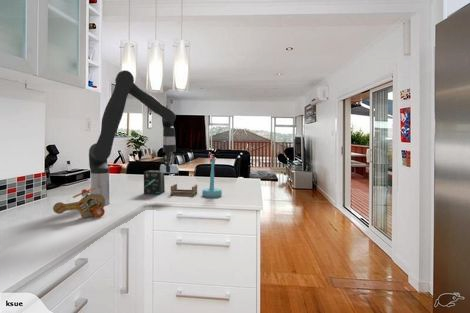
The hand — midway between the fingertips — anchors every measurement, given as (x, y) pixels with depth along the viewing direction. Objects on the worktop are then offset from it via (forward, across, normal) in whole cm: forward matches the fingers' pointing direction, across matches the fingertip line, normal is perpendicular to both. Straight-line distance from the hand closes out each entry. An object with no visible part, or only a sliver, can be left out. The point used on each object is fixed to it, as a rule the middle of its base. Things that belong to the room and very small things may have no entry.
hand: (169, 171), depth 175 cm
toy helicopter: (+15, +49, -24) cm, 57 cm away
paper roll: (-2, 0, 0) cm, 2 cm away
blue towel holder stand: (+17, -10, +24) cm, 31 cm away
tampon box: (+16, -12, -14) cm, 25 cm away
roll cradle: (+16, -11, +6) cm, 20 cm away
